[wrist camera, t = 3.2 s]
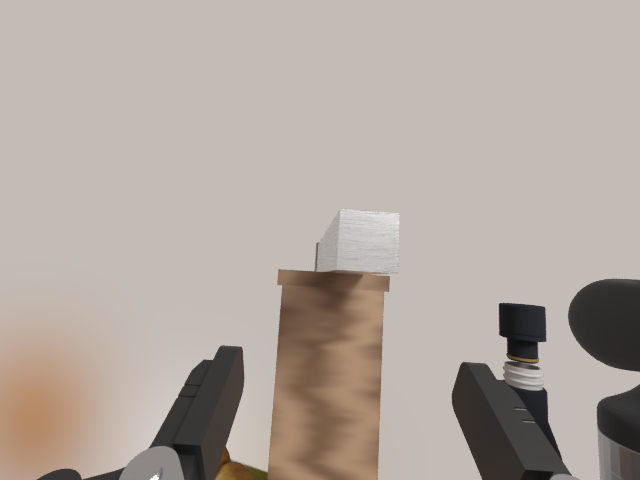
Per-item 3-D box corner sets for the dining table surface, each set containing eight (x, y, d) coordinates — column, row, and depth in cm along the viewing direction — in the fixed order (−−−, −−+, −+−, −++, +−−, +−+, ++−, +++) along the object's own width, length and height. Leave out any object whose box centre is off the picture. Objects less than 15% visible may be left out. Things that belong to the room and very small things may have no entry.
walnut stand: (357, 521, 40) (368, 276, 44) (377, 653, 26) (389, 276, 30) (274, 515, 40) (292, 272, 44) (249, 643, 26) (278, 269, 30)
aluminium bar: (343, 275, 43) (345, 246, 44) (399, 273, 20) (401, 210, 20) (314, 273, 43) (316, 244, 44) (335, 269, 19) (338, 205, 20)
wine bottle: (490, 597, 31) (488, 300, 35) (571, 643, 27) (559, 306, 31) (483, 659, 26) (481, 302, 30) (581, 726, 22) (565, 310, 26)
